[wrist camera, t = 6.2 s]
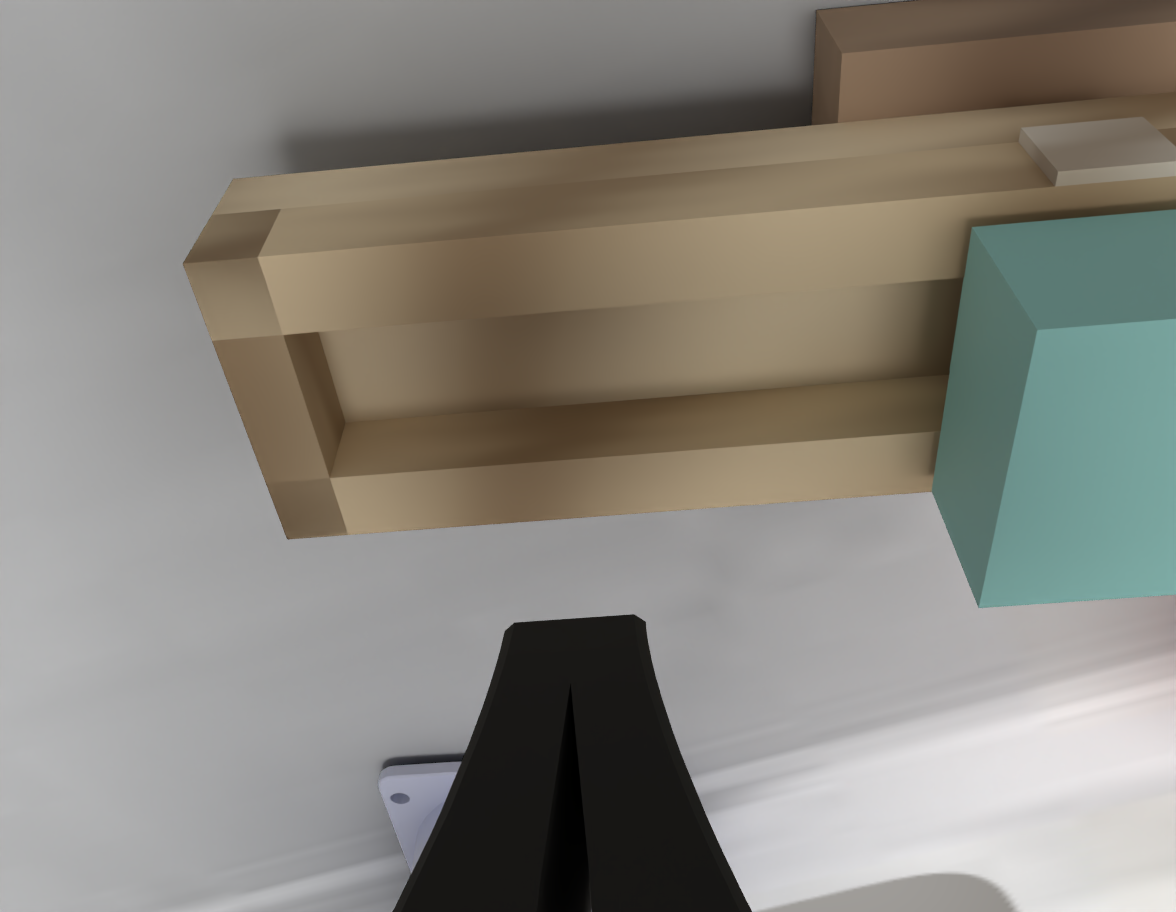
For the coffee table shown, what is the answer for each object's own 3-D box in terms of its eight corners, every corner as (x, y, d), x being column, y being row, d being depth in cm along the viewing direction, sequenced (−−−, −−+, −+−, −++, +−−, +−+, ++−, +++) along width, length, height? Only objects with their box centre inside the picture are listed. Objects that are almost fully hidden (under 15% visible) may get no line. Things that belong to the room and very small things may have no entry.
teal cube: (1244, 152, 14) (1422, 298, 11) (1161, 414, 17) (1285, 586, 14) (941, 179, 14) (1037, 330, 11) (909, 433, 17) (978, 608, 14)
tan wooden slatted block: (1843, -91, 15) (2226, 1, 12) (1598, 316, 20) (1822, 474, 16) (246, 66, 17) (156, 192, 13) (349, 416, 21) (303, 582, 17)
